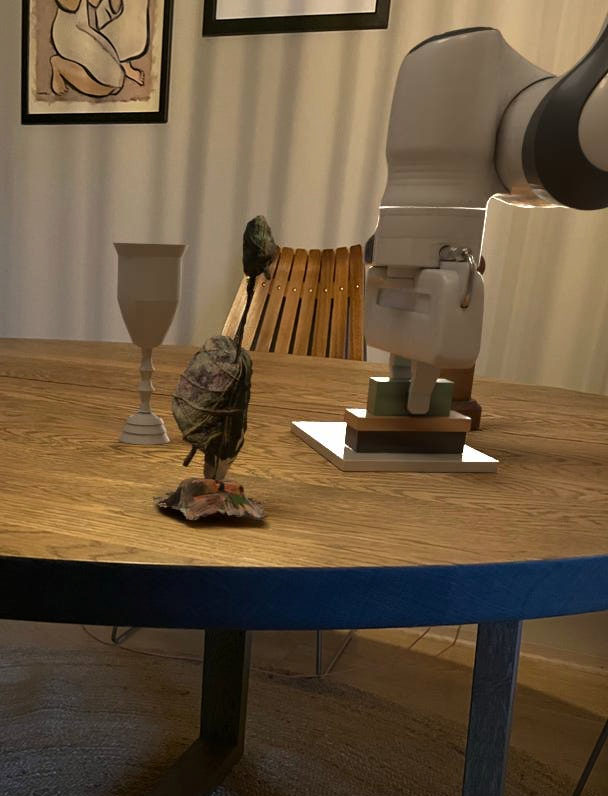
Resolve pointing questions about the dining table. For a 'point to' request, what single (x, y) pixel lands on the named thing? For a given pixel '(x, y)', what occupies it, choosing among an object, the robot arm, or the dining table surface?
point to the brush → (405, 421)
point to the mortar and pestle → (464, 384)
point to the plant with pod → (220, 403)
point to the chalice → (148, 320)
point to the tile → (386, 454)
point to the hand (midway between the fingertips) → (408, 409)
